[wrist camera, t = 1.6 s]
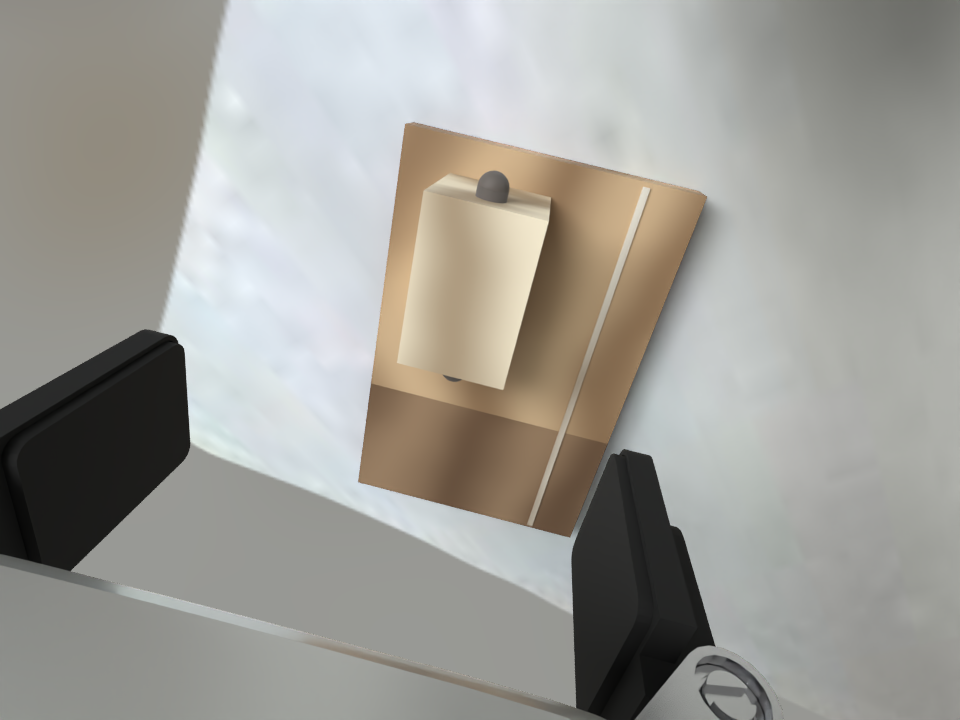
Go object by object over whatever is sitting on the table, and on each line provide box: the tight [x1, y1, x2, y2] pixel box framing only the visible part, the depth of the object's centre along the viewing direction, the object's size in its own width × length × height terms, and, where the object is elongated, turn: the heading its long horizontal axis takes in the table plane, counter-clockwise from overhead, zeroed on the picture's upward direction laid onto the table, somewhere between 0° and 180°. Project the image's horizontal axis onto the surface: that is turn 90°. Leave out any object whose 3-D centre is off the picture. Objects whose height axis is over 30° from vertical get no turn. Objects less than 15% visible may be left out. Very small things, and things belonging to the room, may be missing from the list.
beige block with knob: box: [397, 171, 551, 390], centre depth 22 cm, size 4×9×5 cm, turn 168°
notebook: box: [358, 122, 707, 537], centre depth 27 cm, size 13×20×2 cm, turn 168°
